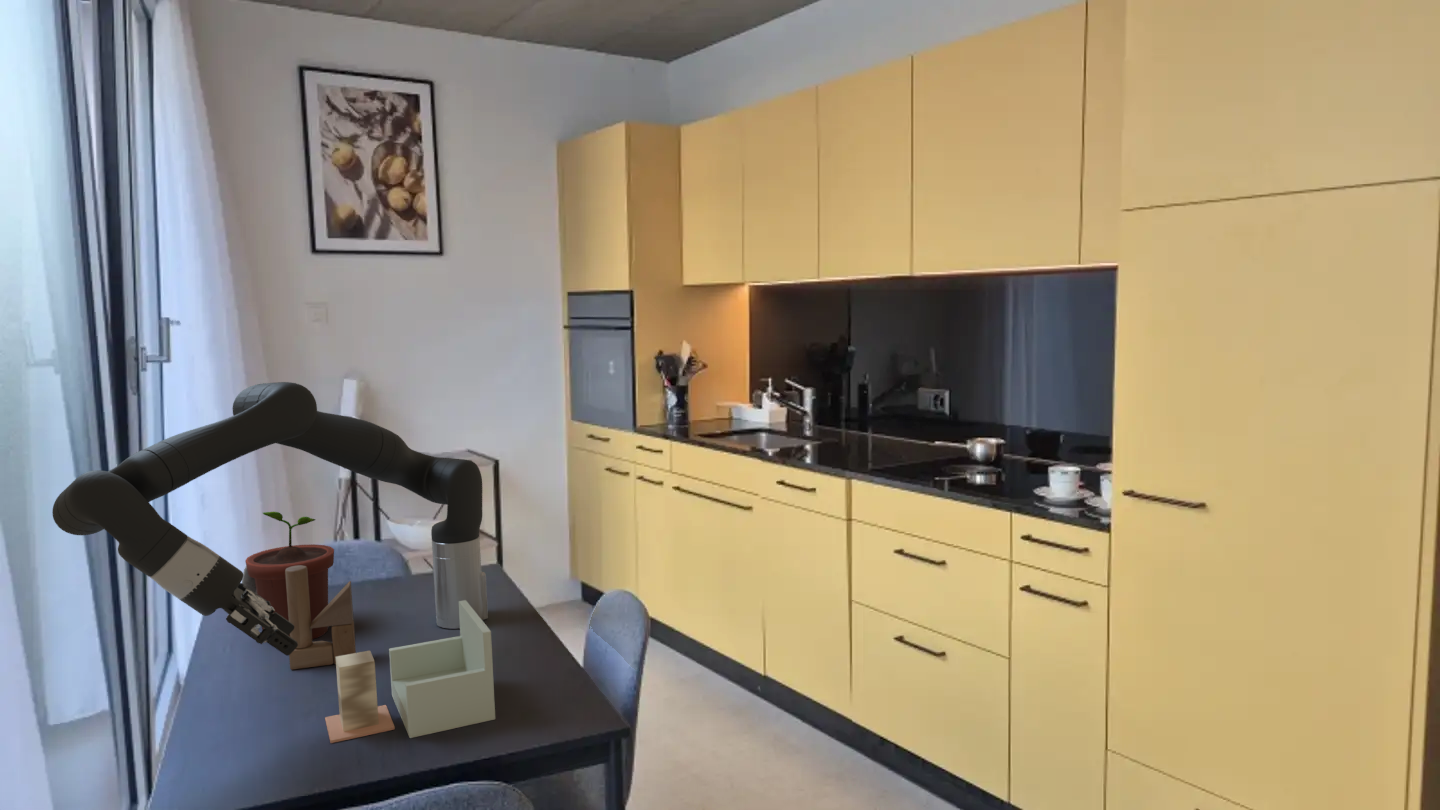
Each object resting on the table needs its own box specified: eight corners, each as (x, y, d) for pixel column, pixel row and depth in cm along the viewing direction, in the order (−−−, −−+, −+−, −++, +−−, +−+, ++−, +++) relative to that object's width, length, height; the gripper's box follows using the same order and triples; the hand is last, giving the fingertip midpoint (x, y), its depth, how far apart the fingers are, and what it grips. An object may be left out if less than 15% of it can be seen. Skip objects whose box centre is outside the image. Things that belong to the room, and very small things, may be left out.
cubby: (409, 738, 139) (404, 646, 138) (391, 695, 155) (386, 613, 153) (495, 719, 145) (490, 631, 144) (469, 680, 160) (465, 600, 159)
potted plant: (242, 656, 174) (231, 523, 171) (241, 621, 193) (232, 502, 190) (345, 638, 182) (336, 511, 179) (334, 607, 201) (326, 492, 198)
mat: (330, 743, 138) (330, 740, 138) (325, 719, 146) (325, 717, 146) (394, 729, 142) (394, 726, 142) (386, 707, 150) (385, 704, 150)
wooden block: (355, 662, 170) (348, 565, 168) (290, 670, 166) (282, 571, 164) (356, 655, 173) (349, 559, 171) (292, 663, 170) (285, 566, 168)
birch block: (343, 731, 141) (339, 667, 140) (339, 719, 145) (335, 656, 144) (378, 724, 143) (374, 660, 142) (374, 711, 148) (369, 650, 147)
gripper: (216, 566, 127) (314, 634, 133) (217, 544, 139) (307, 607, 146) (174, 611, 125) (275, 678, 131) (179, 584, 138) (271, 646, 144)
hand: (291, 640), depth 139 cm, fingers open, 8 cm apart
